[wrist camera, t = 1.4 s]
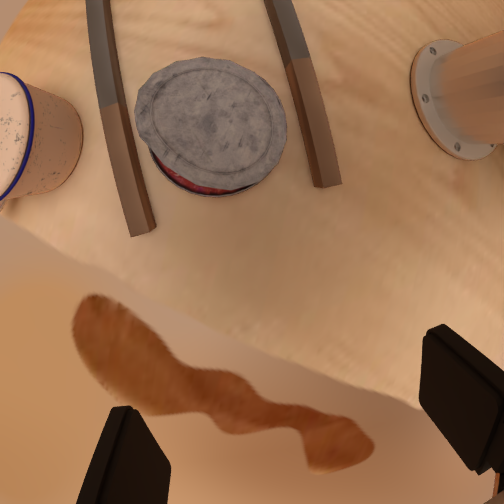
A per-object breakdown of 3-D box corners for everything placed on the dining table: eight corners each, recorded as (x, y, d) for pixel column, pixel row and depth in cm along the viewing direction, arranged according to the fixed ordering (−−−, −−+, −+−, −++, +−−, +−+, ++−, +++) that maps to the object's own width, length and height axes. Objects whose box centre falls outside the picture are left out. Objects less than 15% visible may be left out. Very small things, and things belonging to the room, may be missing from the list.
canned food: (172, 109, 27) (147, 28, 18) (282, 112, 27) (293, 26, 17) (149, 223, 24) (97, 160, 15) (279, 230, 24) (297, 163, 15)
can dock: (247, -82, 18) (249, -96, 16) (331, 182, 25) (342, 183, 23) (91, -45, 18) (83, -56, 15) (139, 231, 25) (131, 237, 23)
